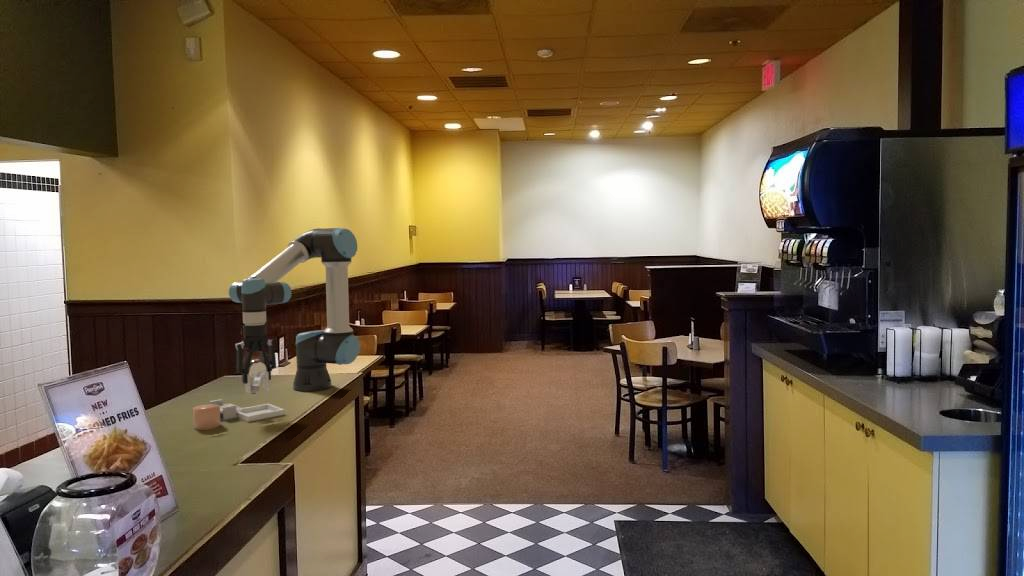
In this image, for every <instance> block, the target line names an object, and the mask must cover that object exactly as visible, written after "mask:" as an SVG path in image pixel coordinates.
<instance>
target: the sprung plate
mask: <svg viewBox="0 0 1024 576" xmlns="http://www.w3.org/2000/svg"><path fill="white" fill-rule="evenodd" d="M222 404H223V403H222ZM231 405H235V404H234V403H224V404H223V405H220V414H223V407H226V406H231ZM241 408H242V407H241V406H238V405H236V411H241Z"/></svg>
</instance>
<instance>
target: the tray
mask: <svg viewBox="0 0 1024 576" xmlns="http://www.w3.org/2000/svg"><path fill="white" fill-rule="evenodd" d="M285 415H286V409H285V408H282V407H279V406H276V405H274V404H271V403H262V404H258V405H253V406H248V407H247V406H246V407H241V411H237V417H239V418H238V419H239V420H242V421H245V422H246V423H250V422H255V421H262V420H266V419H271V418H277V417H281V416H285Z"/></svg>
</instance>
